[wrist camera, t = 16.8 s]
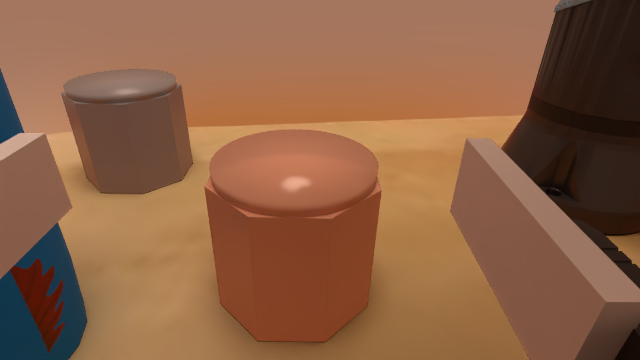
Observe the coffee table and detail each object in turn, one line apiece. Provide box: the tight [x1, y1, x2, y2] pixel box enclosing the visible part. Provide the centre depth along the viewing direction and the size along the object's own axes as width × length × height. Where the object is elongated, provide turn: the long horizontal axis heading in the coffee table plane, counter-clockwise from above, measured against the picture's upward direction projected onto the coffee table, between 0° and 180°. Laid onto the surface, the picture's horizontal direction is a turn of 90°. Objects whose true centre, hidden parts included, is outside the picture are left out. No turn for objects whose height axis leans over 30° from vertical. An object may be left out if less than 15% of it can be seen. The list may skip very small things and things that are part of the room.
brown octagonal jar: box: [62, 69, 193, 194], centre depth 40 cm, size 10×10×10 cm
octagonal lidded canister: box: [204, 130, 381, 342], centre depth 25 cm, size 10×10×10 cm
